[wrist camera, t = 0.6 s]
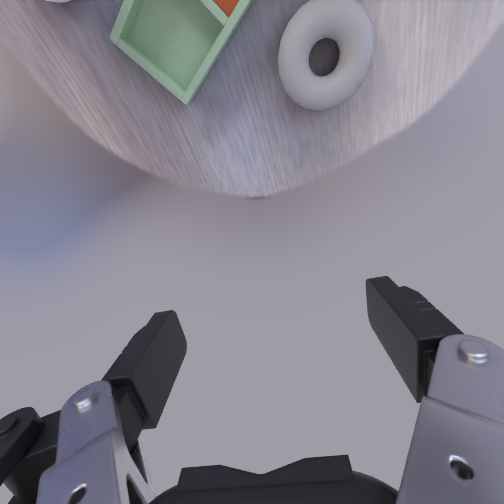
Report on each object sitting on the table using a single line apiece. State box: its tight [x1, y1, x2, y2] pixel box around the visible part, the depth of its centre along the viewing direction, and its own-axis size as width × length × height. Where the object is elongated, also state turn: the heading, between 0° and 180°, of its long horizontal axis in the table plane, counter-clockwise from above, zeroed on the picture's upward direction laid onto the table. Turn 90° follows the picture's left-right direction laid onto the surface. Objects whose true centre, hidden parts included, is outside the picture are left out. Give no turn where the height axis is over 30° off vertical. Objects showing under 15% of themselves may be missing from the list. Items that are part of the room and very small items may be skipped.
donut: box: [278, 0, 374, 110], centre depth 28 cm, size 10×4×10 cm
